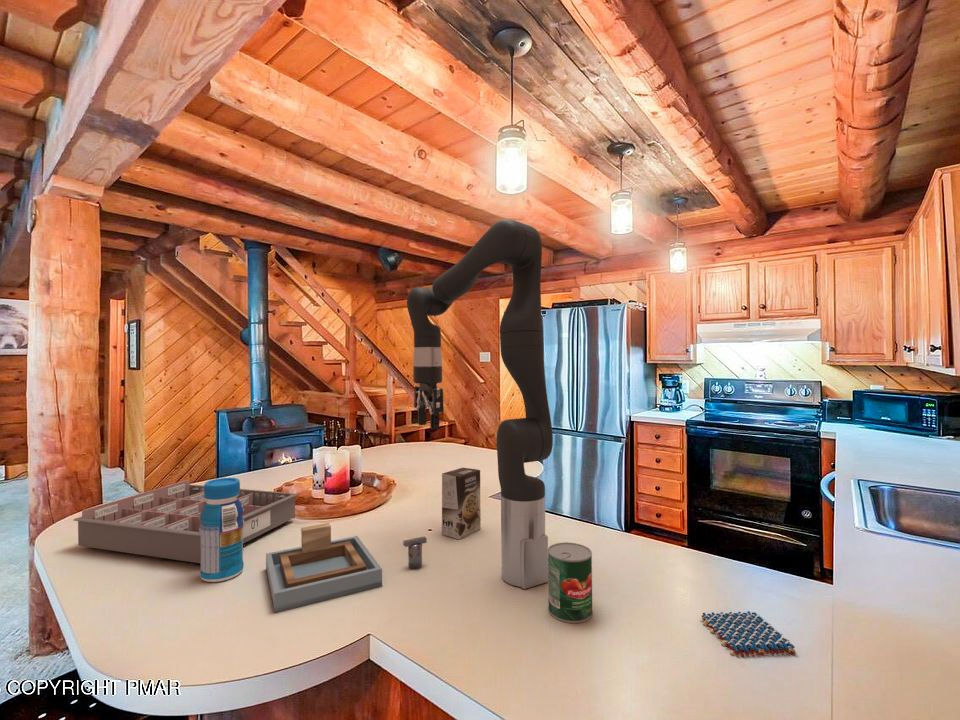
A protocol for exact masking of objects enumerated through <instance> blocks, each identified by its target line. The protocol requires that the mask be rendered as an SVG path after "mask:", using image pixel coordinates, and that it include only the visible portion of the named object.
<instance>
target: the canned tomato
mask: <svg viewBox="0 0 960 720" xmlns="http://www.w3.org/2000/svg"><path fill="white" fill-rule="evenodd" d="M592 556H593V552H592V550H591V549H590V548H589V547H587V546H585V545H584V544H581V543H575V542H566V541H565V542H558V543H554V544H551V545H550V546H548V582H547V583H548V585H547V586H548V587H547V589H548V592H547V593H548V594H547V595H548V606H547V607H548V612H549V614H550V615H551V616H552V617H553V619H556V620H558V621H560V622H564V623H568V624H579V623H580V624H581V623H585V622H587V621H589V620H590V619H591V618H592V617H593V614H594V611H593V579H592V578H593V565H592V564H593V557H592Z"/></svg>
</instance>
